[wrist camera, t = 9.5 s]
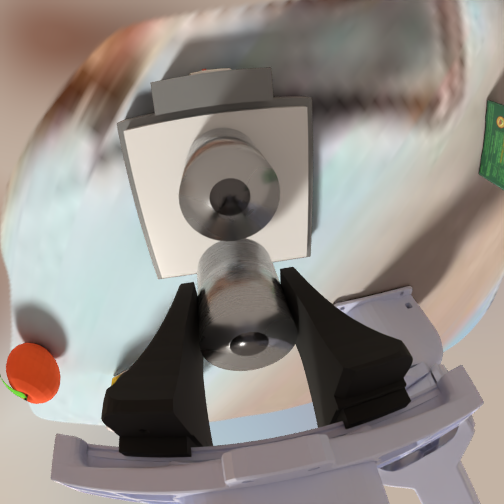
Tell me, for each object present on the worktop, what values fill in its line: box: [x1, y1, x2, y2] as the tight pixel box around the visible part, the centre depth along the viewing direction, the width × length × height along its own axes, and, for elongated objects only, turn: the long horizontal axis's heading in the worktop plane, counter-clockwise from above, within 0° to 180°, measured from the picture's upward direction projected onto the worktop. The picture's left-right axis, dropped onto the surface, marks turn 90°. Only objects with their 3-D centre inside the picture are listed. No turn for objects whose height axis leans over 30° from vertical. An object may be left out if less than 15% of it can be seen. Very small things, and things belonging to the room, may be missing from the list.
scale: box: [117, 67, 313, 279], centre depth 16 cm, size 11×13×3 cm
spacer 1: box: [179, 128, 280, 241], centre depth 13 cm, size 4×4×5 cm
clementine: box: [0, 343, 60, 404], centre depth 21 cm, size 8×7×7 cm
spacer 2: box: [197, 238, 297, 371], centre depth 13 cm, size 4×4×5 cm
